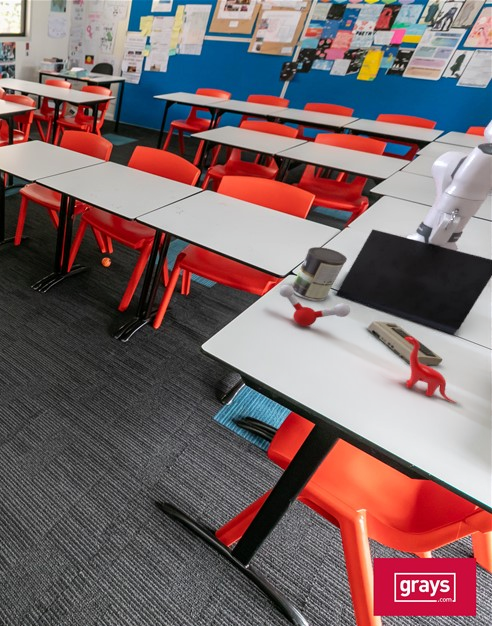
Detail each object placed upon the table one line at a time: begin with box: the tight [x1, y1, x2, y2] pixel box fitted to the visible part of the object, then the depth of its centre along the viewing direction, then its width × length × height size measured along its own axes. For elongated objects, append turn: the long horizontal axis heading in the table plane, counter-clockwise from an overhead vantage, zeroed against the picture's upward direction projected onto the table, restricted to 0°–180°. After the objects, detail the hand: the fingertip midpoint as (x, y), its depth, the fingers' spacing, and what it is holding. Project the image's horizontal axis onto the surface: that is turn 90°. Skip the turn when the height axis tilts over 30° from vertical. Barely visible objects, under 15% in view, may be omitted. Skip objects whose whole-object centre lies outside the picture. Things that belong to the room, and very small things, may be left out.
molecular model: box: [278, 284, 351, 327], centre depth 120 cm, size 18×6×10 cm, turn 46°
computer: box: [367, 320, 444, 366], centre depth 115 cm, size 16×8×3 cm, turn 4°
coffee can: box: [291, 246, 348, 302], centre depth 134 cm, size 10×10×14 cm
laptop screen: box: [338, 228, 492, 331], centre depth 126 cm, size 21×30×1 cm
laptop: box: [335, 289, 458, 336], centre depth 135 cm, size 21×30×2 cm
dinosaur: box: [404, 336, 457, 404], centre depth 98 cm, size 4×15×12 cm, turn 50°
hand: (428, 249), depth 126 cm, fingers closed, pressing on laptop screen
